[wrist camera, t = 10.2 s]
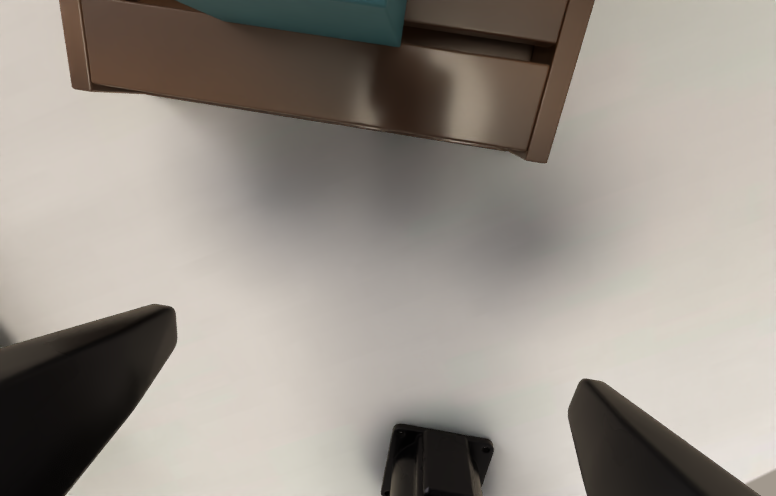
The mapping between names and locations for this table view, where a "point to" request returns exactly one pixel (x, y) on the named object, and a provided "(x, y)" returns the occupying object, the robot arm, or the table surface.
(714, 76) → the table surface
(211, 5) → the tissue box
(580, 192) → the table surface
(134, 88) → the rack
